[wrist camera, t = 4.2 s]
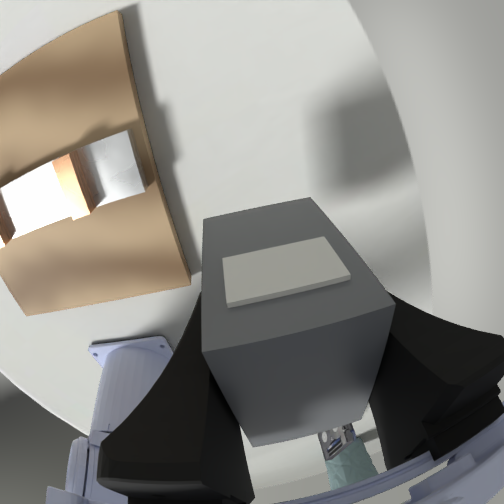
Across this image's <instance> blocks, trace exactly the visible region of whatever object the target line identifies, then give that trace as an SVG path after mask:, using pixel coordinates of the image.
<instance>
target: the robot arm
mask: <svg viewBox="0 0 504 504" xmlns="http://www.w3.org/2000/svg"><path fill="white" fill-rule="evenodd" d="M201 294H202V291H201V292H200V294H199V297H198V300H197V302H196V305H195V308H194V310H193V313H192V315H191V318H190V320H189V322H188V325H187V327H186V329H185V331H184V334H183V336H182V338H181V340H180V342H179V343H178V345H177V347H176V349H175V351H174V353H173V351H172V349H171V347H170V346H169V344H168V342H167V340H166V339H165V338H164V337H162V336H155V337H149V338H142V339H135V340H127V341H120V342H112V343H104V344H95V345H90V346H89V348H88V351H89V352H90V353H91V355H92V356H93V357H94V358H95V360H96V361H97V362H98V363H99V365H100V366H101V367H102V368H103V371H102V375H101V379H100V384H99V388H98V393H97V398H96V403H95V408H94V413H93V418H92V424H91V430H90V435H89V437H88V439H87V438H84V437H79V438H78V439H76V440H74V441H73V442H72V446H71V451H70V456H69V462H68V469H67V477H66V488H65V491H64V490H61V489H57V488H54V487H50V486H49V487H47V496H46V504H250V503H251V502H252V501H253V499H254V498H255V495H254V491H253V487H252V483H251V479H250V474H249V470H248V465H247V461H246V456H245V451H244V446H243V441H242V435H241V430H240V424H239V422H238V421H237V419H236V417H235V415H234V414H233V412H232V410H231V408H230V406H229V404H228V403H227V401H226V399H225V397H224V395H223V393H222V391H221V389H220V387H219V385H218V384H217V382H216V380H215V378H214V376H213V374H212V372H211V370H210V368H209V366H208V364H207V362H206V360H205V358H204V356H203V353H202V329H201ZM388 294H389V295H390V296H391V298H392V299H393V301H394V302H395V303H396V305H395V310H394V314H393V319H392V323H391V327H390V331H389V335H388V339H387V343H386V346H385V350H384V353H383V357H382V360H381V364H380V367H379V370H378V373H377V376H376V380H375V383H374V386H373V389H372V391H371V394H370V397H369V400H368V401H369V404H370V407H371V410H372V413H373V417H374V420H375V424H376V427H377V431H378V435H379V439H380V443H381V447H382V452H383V456H384V461H385V465H386V468H387V471H385V472H383V473H380V474H378V475H375V476H373V477H370V478H367V479H365V480H362V481H359V482H356V483H353V484H350V485H347V486H344V487H341V488H338V489H335V490H331V491H328V492H324V493H321V494H317V495H313V496H309V497H305V498H300V499H295V500H290V501H286V502H280V503H274V504H353V503H356V502H359V501H361V500H364V499H367V498H370V497H372V496H375V495H377V494H380V493H382V492H385V491H387V490H390V489H392V488H394V487H396V486H399V485H401V484H403V483H405V482H407V481H409V480H411V479H413V478H415V477H417V476H419V475H421V474H423V473H425V472H427V471H429V470H431V469H432V468H434V467H436V466H438V465H440V464H441V463H443V462H444V461H446V460H448V459H449V461H448V463H447V467H445V468H443V469H442V470H440V471H438V472H437V473H435V474H433V475H431V476H430V477H428V478H426V479H425V480H423V481H421V482H419V483H418V484H416V485H414V486H412V487H410V488H409V492H410V495H411V499H410V500H408V501H405V502H403V503H401V504H486V503H487V502H488V501H489V500H490V499H491V498H493V496H495V495H496V494H497V493H498V492H499V491H500V490H501V489H502V488H503V487H504V401H503V402H501V400H500V399H499V397H498V395H499V393H500V389H499V387H498V385H497V383H498V382H499V381H500V380H501V378H502V377H503V376H504V338H503V337H502V336H501V335H497V334H492V333H487V332H482V331H477V330H474V329H470V328H466V327H463V326H460V325H457V324H454V323H451V322H448V321H446V320H443V319H441V318H438V317H435V316H433V315H431V314H429V313H426V312H424V311H422V310H420V309H418V308H416V307H414V306H412V305H410V304H408V303H406V302H404V301H403V300H401V299H399V298H397V297H396V296H394V295H392V294H391V293H389V292H388Z"/></svg>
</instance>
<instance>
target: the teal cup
mask: <svg viewBox="0 0 504 504" xmlns="http://www.w3.org/2000/svg"><path fill="white" fill-rule="evenodd" d="M324 459H325V458H324ZM325 463H326V467H327V472H328V476H329V482H330V487H331V490H335V489H338V488H341V487H344V486H347V485H350V484H353V483H356V482H359V481H362V480H365V479H367V478H370V477H373V476H375V475H378V472H377V470H376V468H375V466H374V465H373V464H372V460H371V458H370V456H369V454H368V453H367V451H366V448H365V445H364V443H363V441H362V439H361V438H356V440H355V441H353V442H352V443H351V444H350V445H349V446H348V447H347V448H345V449H344V450H343V451H342V452H341V453H340V454H338V455H337V456H336V457H335V458H334V459H332V460H328V461H325Z"/></svg>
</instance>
